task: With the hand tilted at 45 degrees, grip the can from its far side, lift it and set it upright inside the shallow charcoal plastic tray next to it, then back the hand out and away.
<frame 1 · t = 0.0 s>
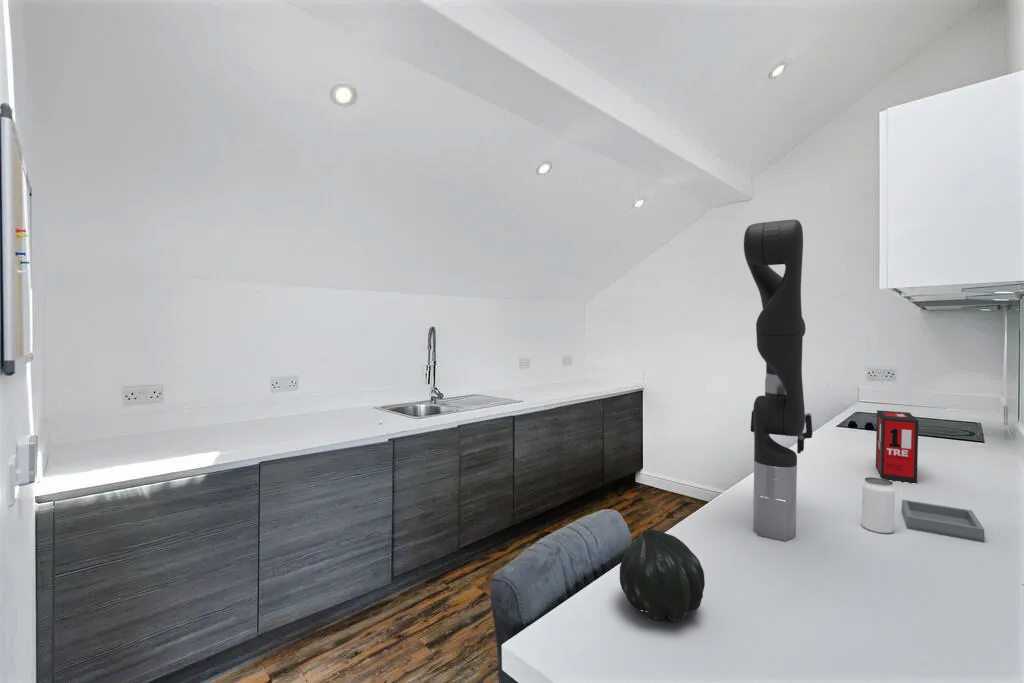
hand: (780, 450, 131), 17 cm above the countertop, tool pointing down, fingers open, 8 cm apart
cleaning product box: (895, 475, 165), on the countertop
tray: (939, 525, 124), on the countertop
can: (877, 529, 122), on the countertop
squash: (661, 608, 89), on the countertop
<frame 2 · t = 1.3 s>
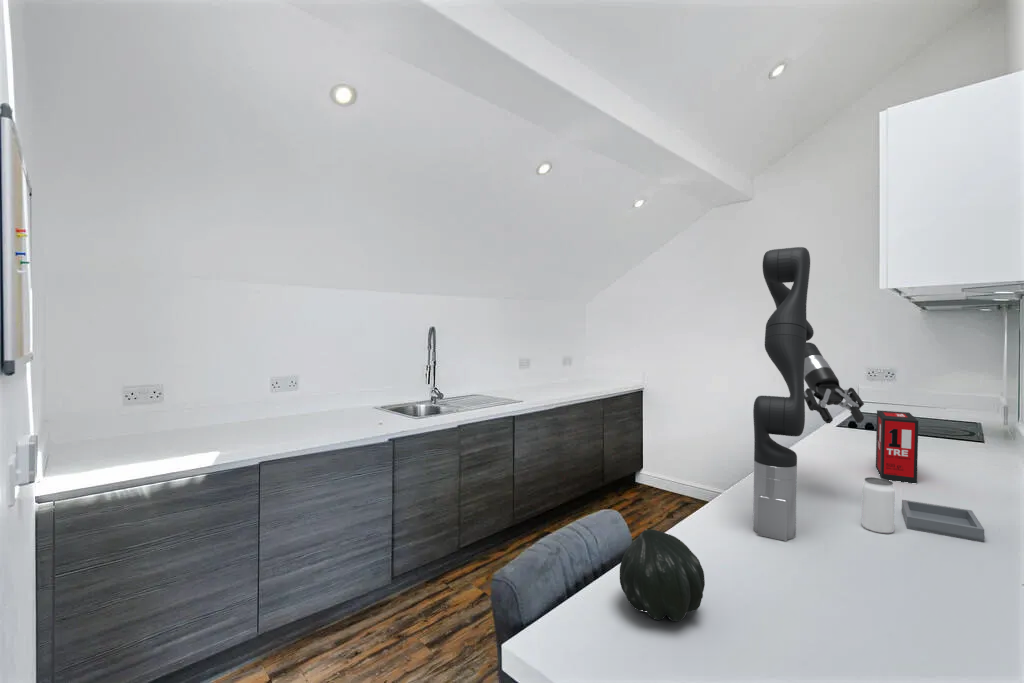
hand: (845, 421, 133), 24 cm above the countertop, tool tilted 45°, fingers open, 8 cm apart
nothing on the countertop moved.
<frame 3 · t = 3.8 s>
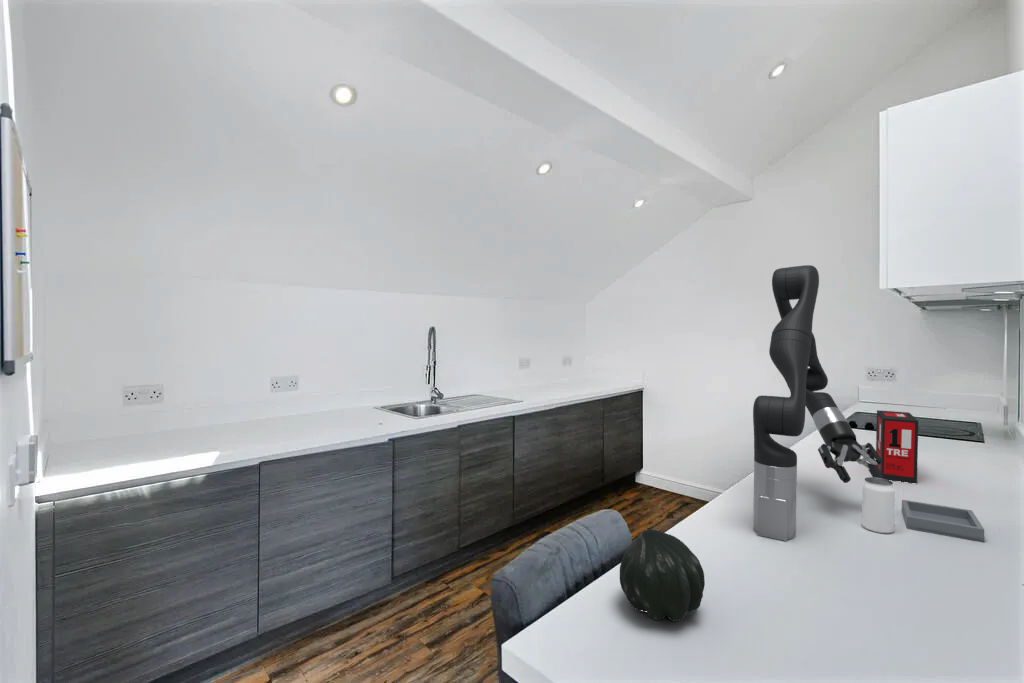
hand: (863, 481, 127), 10 cm above the countertop, tool tilted 45°, fingers open, 8 cm apart
nothing on the countertop moved.
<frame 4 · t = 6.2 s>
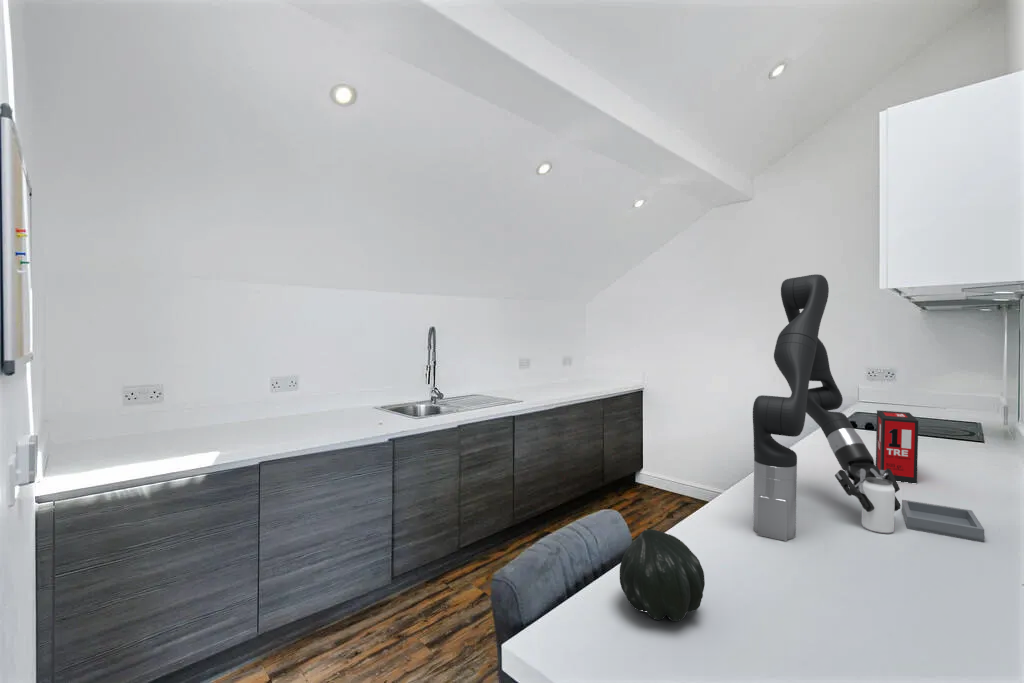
hand: (883, 509, 120), 5 cm above the countertop, tool tilted 45°, fingers closed on can, 6 cm apart
can: (877, 529, 122), on the countertop, touching gripper
everything else where it was.
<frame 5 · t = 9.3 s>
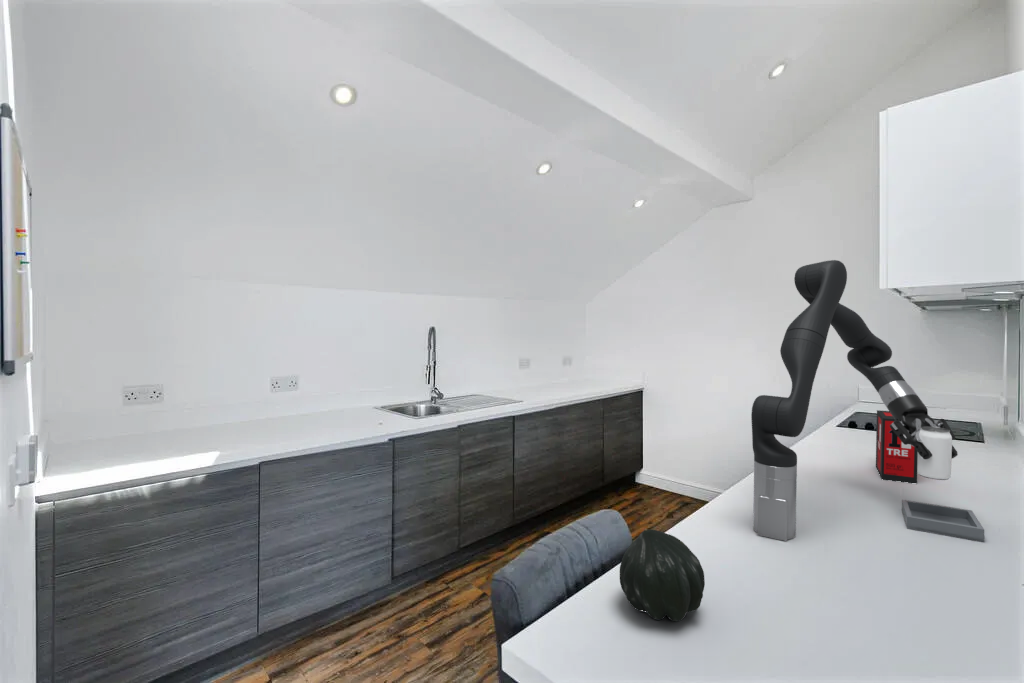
hand: (941, 457, 122), 18 cm above the countertop, tool tilted 45°, fingers closed on can, 6 cm apart
can: (933, 477, 124), point 12 cm above the countertop, touching gripper
everything else where it was.
when the fingers open (7 cm above the countertop, at t = 12.3 s): can drops 1 cm, resting on tray.
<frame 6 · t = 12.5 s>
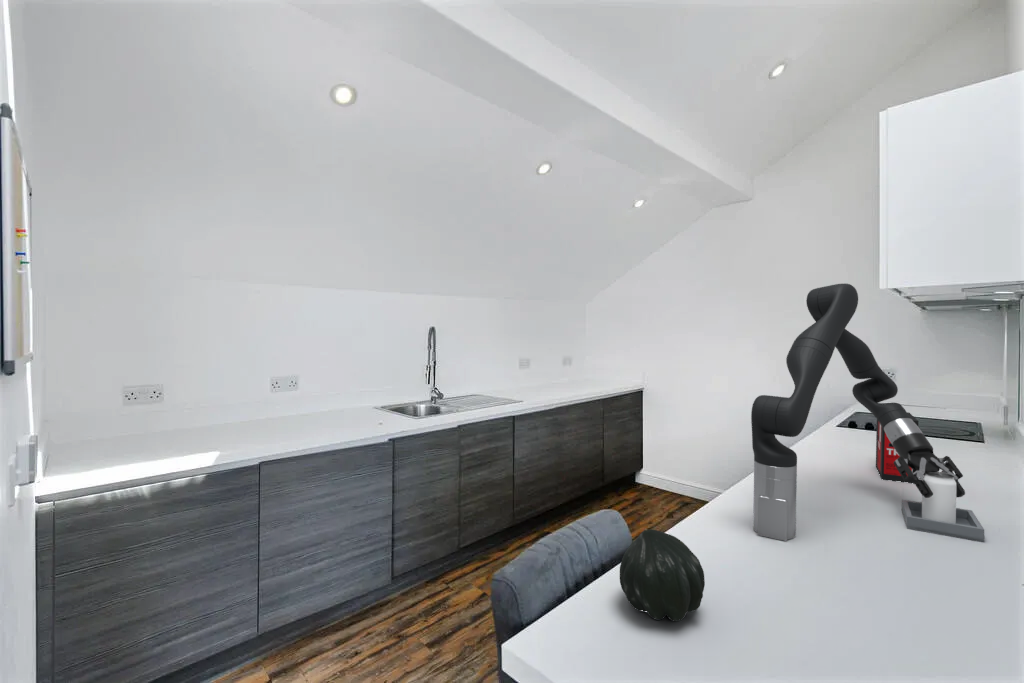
hand: (945, 496, 122), 8 cm above the countertop, tool tilted 45°, fingers open, 8 cm apart
can: (938, 522, 124), point 1 cm above the countertop, touching tray
everything else where it was.
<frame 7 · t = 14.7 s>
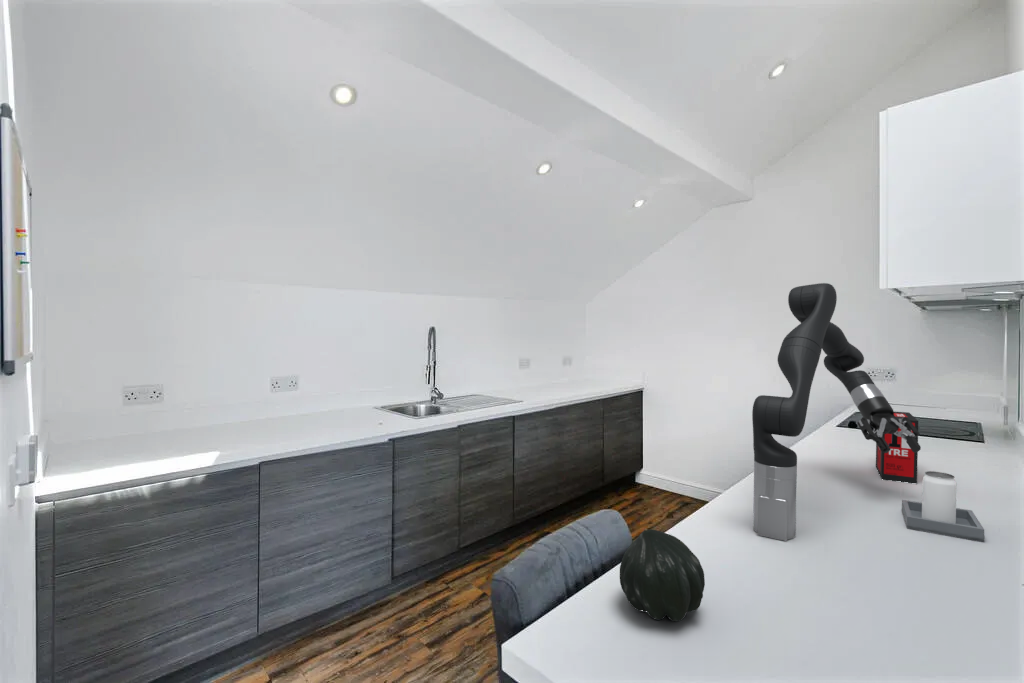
hand: (902, 451, 135), 16 cm above the countertop, tool tilted 45°, fingers open, 8 cm apart
nothing on the countertop moved.
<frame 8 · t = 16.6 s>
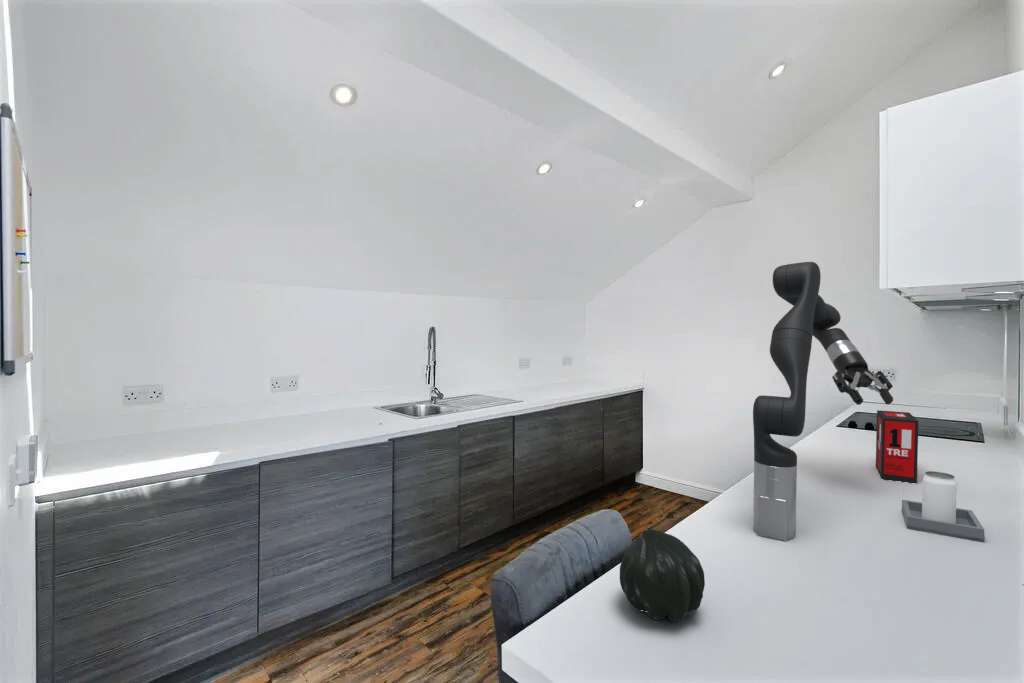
hand: (875, 402, 137), 29 cm above the countertop, tool tilted 45°, fingers open, 8 cm apart
nothing on the countertop moved.
at the end: can inside the target area on the tray (0.3 cm from its centre), point 0.6 cm above the tray's base; can tilted 0°; the gripper is holding nothing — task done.
